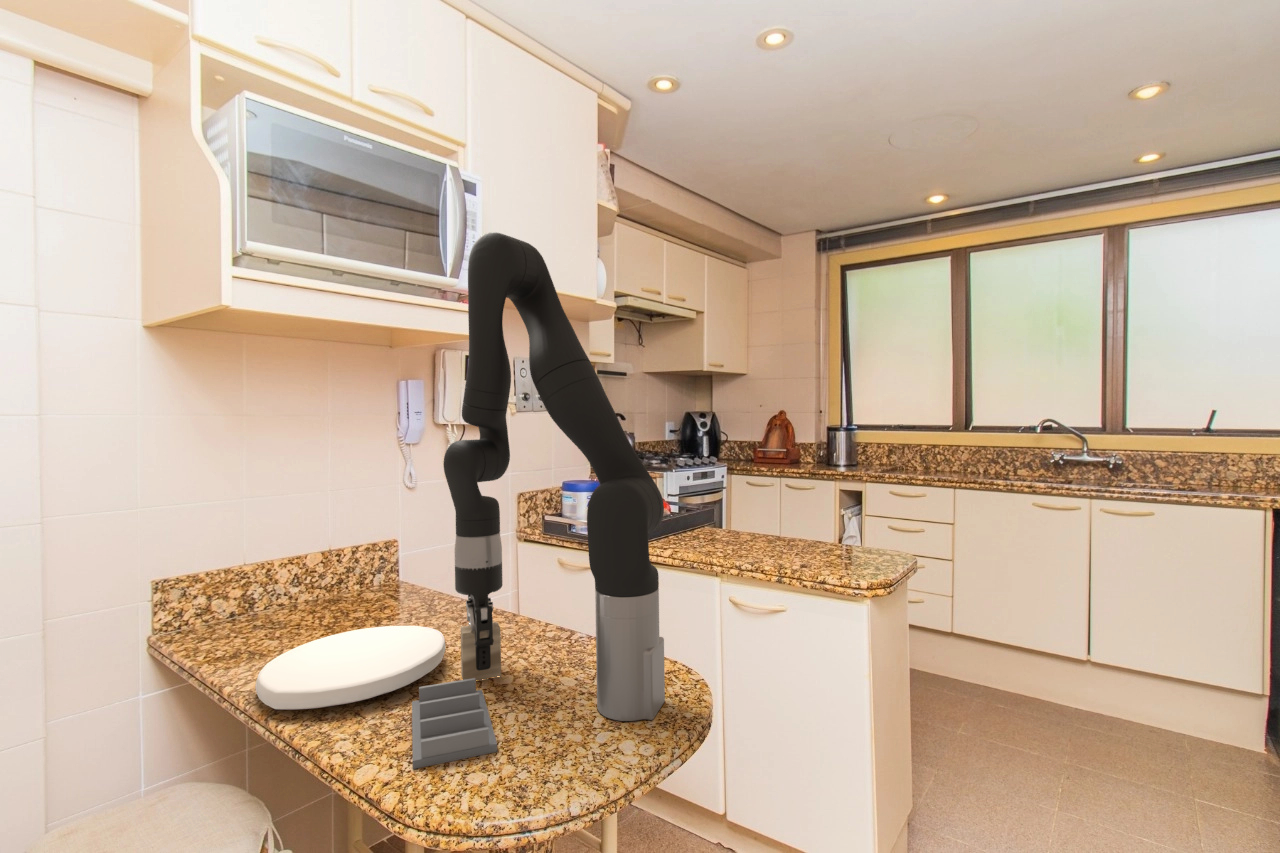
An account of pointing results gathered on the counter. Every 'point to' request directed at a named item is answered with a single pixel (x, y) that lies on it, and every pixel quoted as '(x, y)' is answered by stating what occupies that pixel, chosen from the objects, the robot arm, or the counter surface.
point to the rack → (450, 723)
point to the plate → (349, 667)
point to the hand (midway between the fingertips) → (480, 659)
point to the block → (470, 654)
